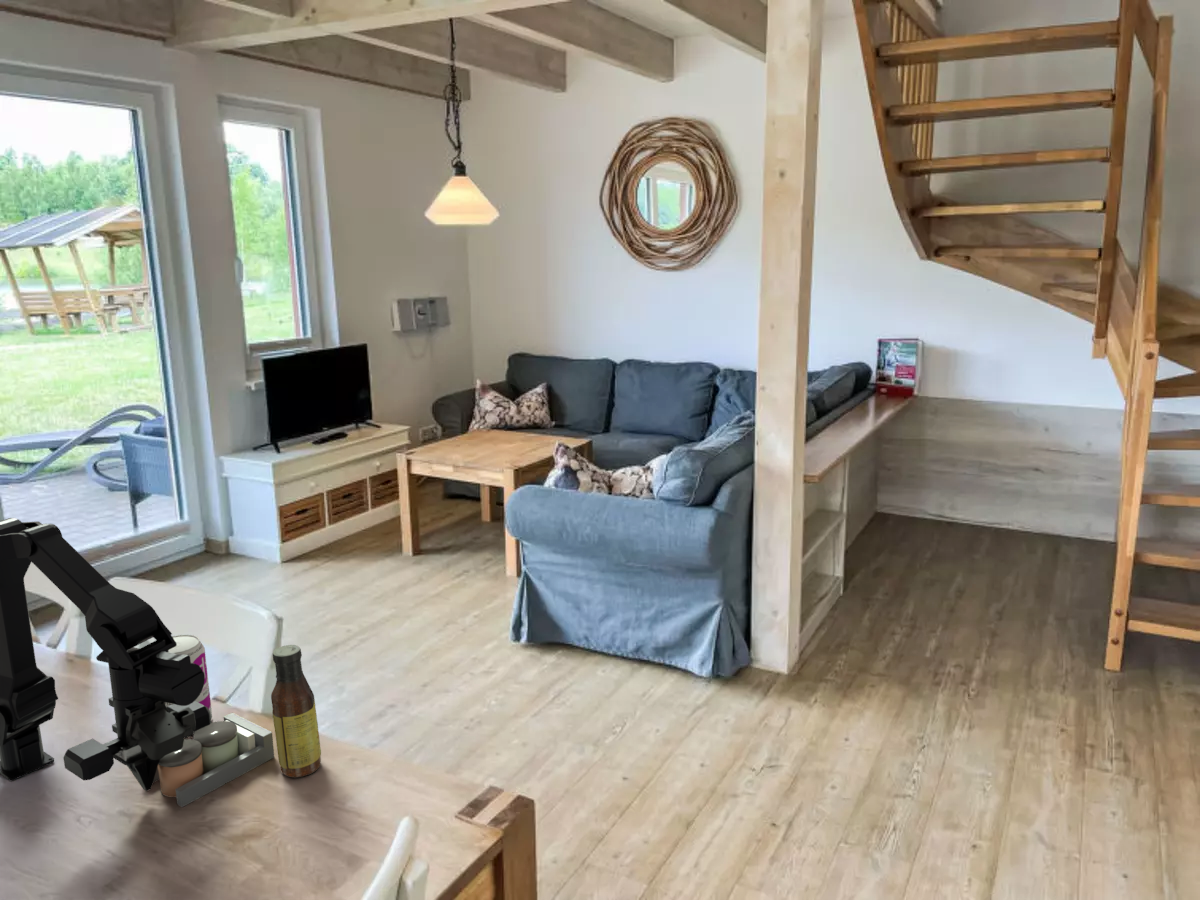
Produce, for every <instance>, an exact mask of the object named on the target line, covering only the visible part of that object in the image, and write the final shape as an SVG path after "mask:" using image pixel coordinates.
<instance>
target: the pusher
mask: <svg viewBox="0 0 1200 900" xmlns="http://www.w3.org/2000/svg"><path fill="white" fill-rule="evenodd" d="M226 721H228V720H226ZM229 722H230V721H229ZM236 726H237V740H238V750H239V756H240V755H242V754H244V753H246V752H248V751H249V750H251V749H253V748H255V747H256V746H255V736H254V733H252V732H250V731H248V730H246V729H244V728H242V727H240V726H238V725H236Z"/></svg>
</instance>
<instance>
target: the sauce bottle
mask: <svg viewBox="0 0 1200 900" xmlns="http://www.w3.org/2000/svg"><path fill="white" fill-rule="evenodd" d="M302 655H303V654H302V650H301V648H300V646H298V645H296V644H288V645H282V646H279V647H277V648H275V649H274V650H273V651H272V660H273V662H274V664H275V678H276V681H275V685H274V687H273V689H272V691H271V695H270V700H271V704H272V705H271V706H272V719H273V727H274V735H275V741H276V743H275V744H276V750H277V751H276V752H277V758H278V763H279V765H280V768H279V769H280V771H281V773H282V774H283V775H285V776H287V777H289V778H295V779H297V778H302V777H307V776H309V775H311V774H313V773H315V772H316V771H317V770H318V769H319V768H320V767H321V760H322V758H321V756H322V749H321V741H320V733H319V724H318V723H319V722H318V718H317V717H318V716H317V710H316V709H317V708H316V700H315V695H314V692H313V691H312V688H311V686H310V685H309V682H308V680H307V679H306V676H305V675H304V673H303V672H304V671H303V667H302V657H303V656H302Z"/></svg>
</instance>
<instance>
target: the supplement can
mask: <svg viewBox="0 0 1200 900" xmlns="http://www.w3.org/2000/svg"><path fill="white" fill-rule="evenodd" d="M171 636H172V637H173V639H174V640H175V642H176V644H177V646H175V647H174V648H172V649H170V650H168V651H169V653H174V654H185V655H189V656H190V661H191V663H194V664H197V665H199V666H200V667H201V669H202V671H203V672H204V675H205V681H204V686H203V689H202V691H201V693H200V695H199V696H198V698H197V699H196V700H195V701H196V702H198V703H200V704H202V705H204V706H206V707H208V709H209V711H210V714H211V720H212V719H213V711H212V702H211V694H210V686H209V677H208V668H207V666H208V665H207V658H206V657H207V656H206V649H205V646H204V644H203V642H201V640H200V638H199V637H198V636H196V635H194V634H193V635H192V634H178V635H171ZM170 705H172V703H167V702H165V706H166V708H167V707H168V706H170ZM194 733H195V732H194V731H193V734H192V735H194Z"/></svg>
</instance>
